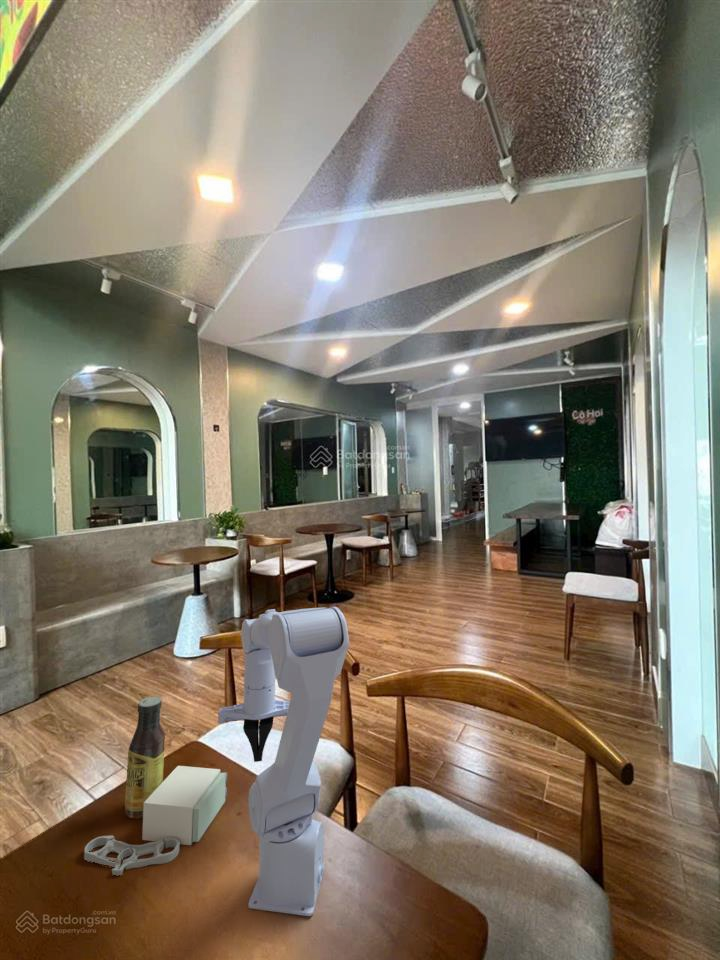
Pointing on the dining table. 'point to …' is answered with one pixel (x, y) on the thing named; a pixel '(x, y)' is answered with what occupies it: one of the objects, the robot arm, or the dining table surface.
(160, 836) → the cabinet
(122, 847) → the bracket
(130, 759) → the sauce bottle
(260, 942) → the dining table surface
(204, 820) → the cabinet door
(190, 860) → the dining table surface
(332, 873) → the dining table surface
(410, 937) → the dining table surface
